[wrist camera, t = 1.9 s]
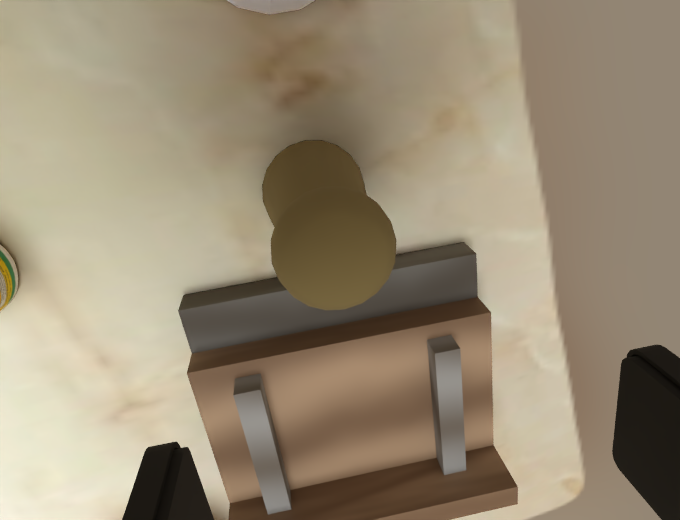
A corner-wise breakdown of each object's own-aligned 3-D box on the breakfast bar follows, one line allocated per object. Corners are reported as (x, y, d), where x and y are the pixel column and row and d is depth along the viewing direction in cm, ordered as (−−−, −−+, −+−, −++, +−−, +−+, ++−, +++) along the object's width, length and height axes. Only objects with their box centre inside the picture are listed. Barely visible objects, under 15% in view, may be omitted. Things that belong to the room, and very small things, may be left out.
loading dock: (183, 295, 30) (159, 366, 23) (464, 242, 31) (519, 294, 24) (238, 472, 36) (231, 570, 29) (471, 421, 37) (517, 503, 30)
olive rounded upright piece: (252, 149, 27) (243, 204, 17) (357, 131, 28) (409, 174, 18) (273, 248, 30) (276, 346, 20) (369, 230, 30) (421, 317, 20)
